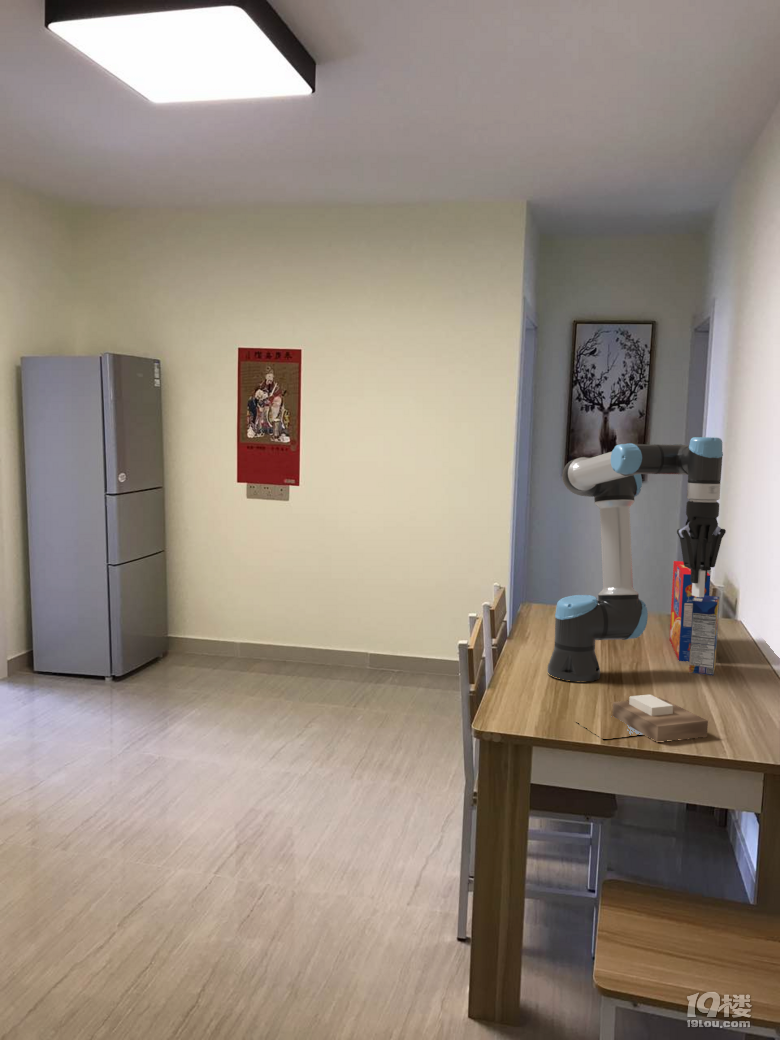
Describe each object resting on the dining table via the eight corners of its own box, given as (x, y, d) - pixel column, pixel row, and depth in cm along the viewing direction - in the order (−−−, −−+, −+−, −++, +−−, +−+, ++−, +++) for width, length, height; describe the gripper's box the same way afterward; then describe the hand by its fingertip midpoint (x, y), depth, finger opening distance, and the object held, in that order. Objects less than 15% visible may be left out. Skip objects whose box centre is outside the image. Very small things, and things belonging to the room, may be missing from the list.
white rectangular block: (629, 704, 207) (629, 696, 207) (649, 702, 209) (649, 694, 208) (651, 716, 198) (652, 707, 198) (672, 713, 200) (673, 705, 200)
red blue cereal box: (669, 639, 290) (673, 561, 287) (693, 641, 288) (698, 562, 285) (678, 661, 263) (683, 574, 260) (705, 663, 261) (710, 575, 258)
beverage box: (688, 672, 250) (692, 600, 248) (691, 663, 260) (695, 594, 258) (713, 675, 247) (717, 603, 245) (715, 666, 257) (719, 596, 255)
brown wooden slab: (612, 717, 209) (613, 702, 208) (659, 712, 213) (660, 697, 213) (657, 743, 192) (658, 726, 191) (706, 737, 196) (707, 720, 196)
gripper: (691, 502, 196) (685, 600, 199) (735, 501, 200) (730, 597, 203) (670, 499, 203) (665, 594, 206) (714, 499, 208) (709, 592, 210)
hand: (697, 596), depth 204 cm, fingers closed
